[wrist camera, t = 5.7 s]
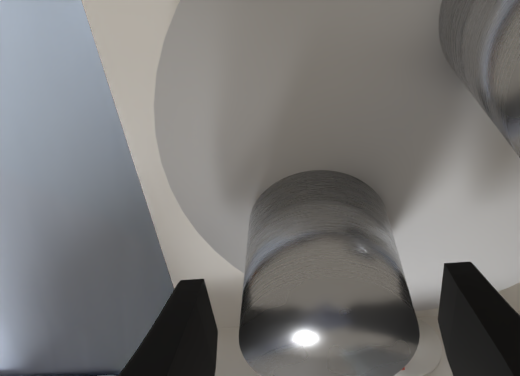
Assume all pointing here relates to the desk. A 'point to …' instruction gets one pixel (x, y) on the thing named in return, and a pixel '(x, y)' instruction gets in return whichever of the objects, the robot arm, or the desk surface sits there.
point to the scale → (308, 138)
